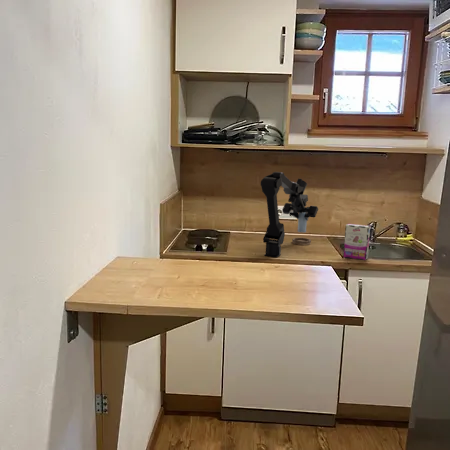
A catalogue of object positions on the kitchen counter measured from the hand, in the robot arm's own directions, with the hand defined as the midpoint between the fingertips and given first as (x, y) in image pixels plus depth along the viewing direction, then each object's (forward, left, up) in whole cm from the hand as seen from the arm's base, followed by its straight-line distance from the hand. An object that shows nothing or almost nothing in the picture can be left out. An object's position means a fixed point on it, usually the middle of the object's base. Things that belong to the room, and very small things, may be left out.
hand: (303, 219), depth 257 cm
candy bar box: (+32, -18, -13) cm, 39 cm away
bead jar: (0, -1, -7) cm, 7 cm away
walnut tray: (0, 0, -13) cm, 13 cm away
